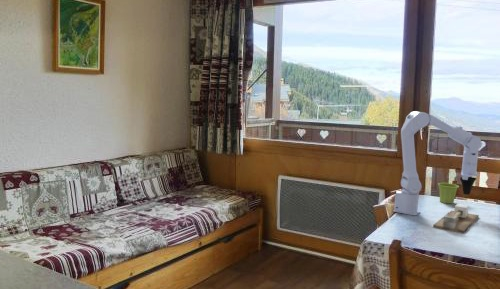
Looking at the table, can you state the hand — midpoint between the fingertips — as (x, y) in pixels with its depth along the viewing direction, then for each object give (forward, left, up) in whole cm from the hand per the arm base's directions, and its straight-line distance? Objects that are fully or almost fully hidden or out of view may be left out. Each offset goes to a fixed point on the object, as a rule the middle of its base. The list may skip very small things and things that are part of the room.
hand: (466, 193), depth 202 cm
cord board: (0, -15, -9) cm, 18 cm away
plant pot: (-12, +20, -10) cm, 25 cm away
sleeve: (0, -8, -8) cm, 11 cm away
